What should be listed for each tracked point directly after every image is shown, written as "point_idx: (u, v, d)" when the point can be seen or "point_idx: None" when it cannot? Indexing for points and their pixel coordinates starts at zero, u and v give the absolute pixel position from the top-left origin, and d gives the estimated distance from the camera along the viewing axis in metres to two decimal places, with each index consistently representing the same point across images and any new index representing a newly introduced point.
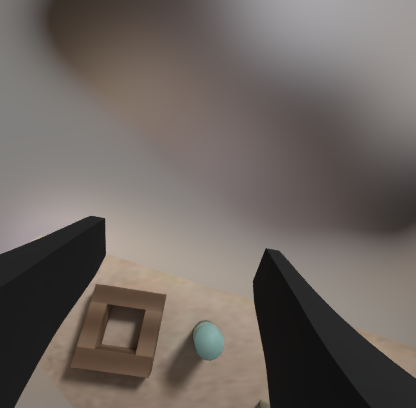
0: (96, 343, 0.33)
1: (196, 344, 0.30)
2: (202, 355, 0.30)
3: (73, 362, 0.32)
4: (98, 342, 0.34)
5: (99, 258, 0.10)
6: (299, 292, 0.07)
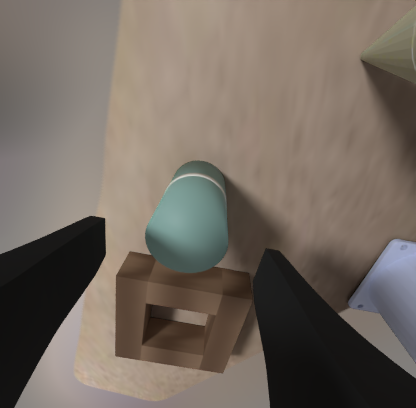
0: (197, 350, 0.22)
1: (189, 269, 0.12)
2: (214, 258, 0.11)
3: (218, 371, 0.23)
4: (198, 342, 0.23)
5: (99, 258, 0.10)
6: (299, 292, 0.07)
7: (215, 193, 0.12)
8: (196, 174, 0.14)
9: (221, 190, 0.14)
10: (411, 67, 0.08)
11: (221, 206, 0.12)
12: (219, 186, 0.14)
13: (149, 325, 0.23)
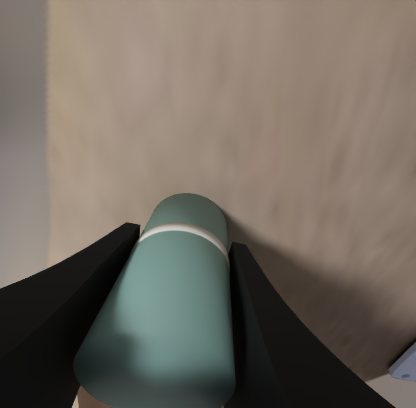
0: None
1: None
2: (209, 404, 0.06)
3: None
4: None
5: None
6: (253, 284, 0.07)
7: (211, 269, 0.07)
8: (181, 224, 0.08)
9: (221, 252, 0.08)
10: None
11: (221, 299, 0.06)
12: (218, 245, 0.08)
13: None
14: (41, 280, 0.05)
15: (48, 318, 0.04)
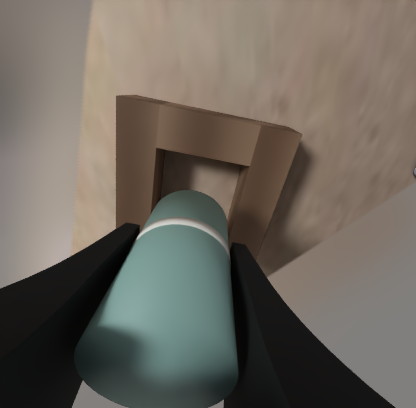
0: None
1: None
2: (212, 397, 0.06)
3: None
4: None
5: None
6: (253, 284, 0.07)
7: (212, 261, 0.07)
8: (181, 219, 0.08)
9: (222, 246, 0.08)
10: None
11: (223, 290, 0.06)
12: (219, 239, 0.08)
13: None
14: (41, 280, 0.05)
15: (48, 318, 0.04)
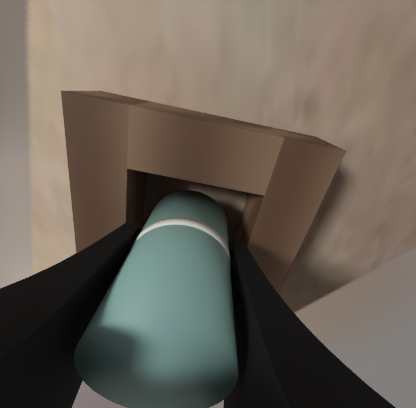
0: None
1: None
2: (212, 397, 0.06)
3: None
4: None
5: None
6: (253, 284, 0.07)
7: (212, 261, 0.07)
8: (181, 219, 0.08)
9: (222, 246, 0.08)
10: None
11: (223, 290, 0.06)
12: (219, 239, 0.08)
13: None
14: (41, 280, 0.05)
15: (48, 318, 0.04)
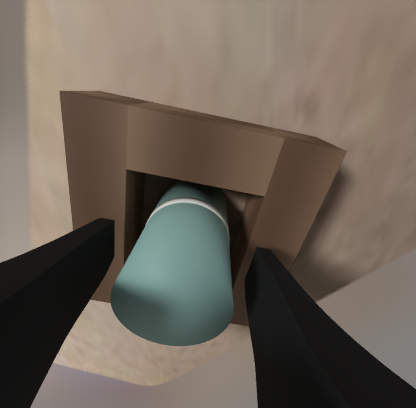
0: None
1: (177, 342, 0.08)
2: (213, 330, 0.08)
3: None
4: None
5: (108, 260, 0.10)
6: (287, 290, 0.07)
7: (214, 230, 0.09)
8: (188, 199, 0.10)
9: (222, 221, 0.10)
10: None
11: (222, 251, 0.08)
12: (219, 215, 0.10)
13: None
14: None
15: None
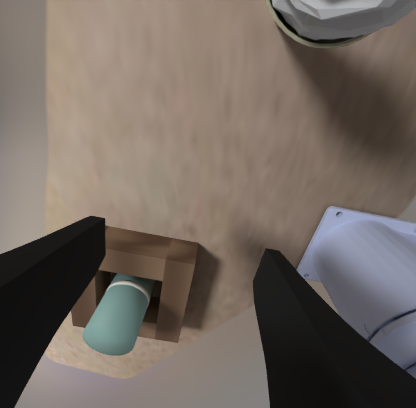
0: (151, 319, 0.23)
1: (113, 353, 0.18)
2: (128, 349, 0.18)
3: (172, 340, 0.24)
4: (153, 312, 0.23)
5: (99, 258, 0.10)
6: (299, 292, 0.07)
7: (133, 301, 0.19)
8: (125, 281, 0.20)
9: (142, 292, 0.20)
10: None
11: (134, 313, 0.18)
12: (141, 289, 0.20)
13: None
14: None
15: None
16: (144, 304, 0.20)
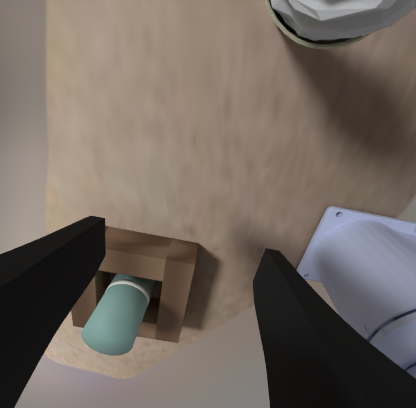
0: (151, 319, 0.23)
1: (112, 353, 0.18)
2: (127, 348, 0.18)
3: (173, 340, 0.24)
4: (153, 312, 0.23)
5: (99, 258, 0.10)
6: (299, 292, 0.07)
7: (132, 300, 0.19)
8: (125, 280, 0.20)
9: (141, 292, 0.20)
10: None
11: (133, 312, 0.18)
12: (140, 288, 0.20)
13: None
14: None
15: None
16: (143, 304, 0.20)
